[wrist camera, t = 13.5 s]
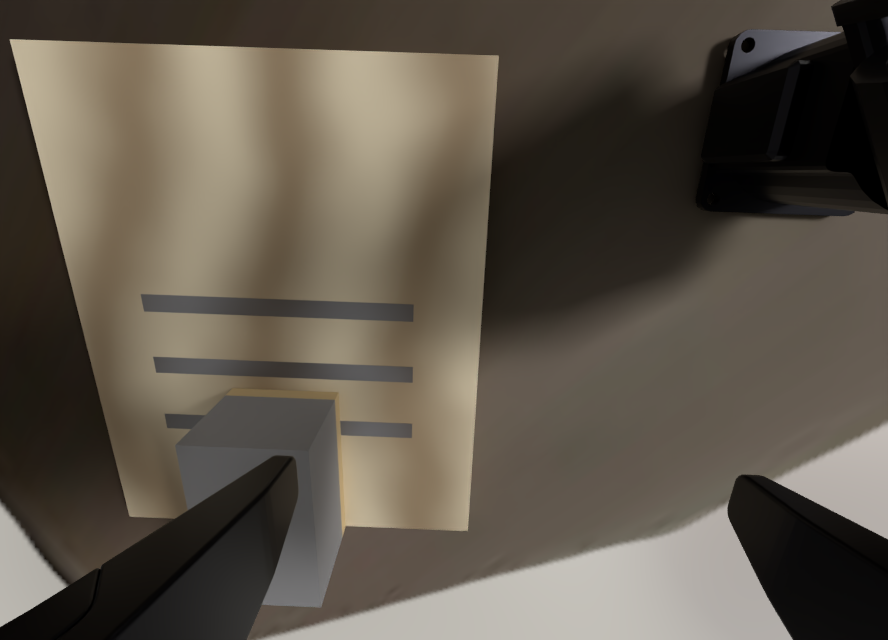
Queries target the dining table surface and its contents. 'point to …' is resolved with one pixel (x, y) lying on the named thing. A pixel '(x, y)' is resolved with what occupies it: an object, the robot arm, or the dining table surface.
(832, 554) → the robot arm
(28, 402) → the dining table surface
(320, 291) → the plywood board
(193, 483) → the block
